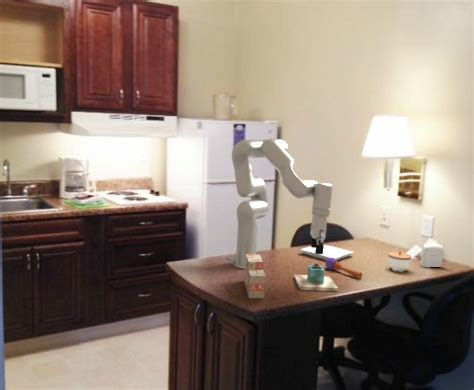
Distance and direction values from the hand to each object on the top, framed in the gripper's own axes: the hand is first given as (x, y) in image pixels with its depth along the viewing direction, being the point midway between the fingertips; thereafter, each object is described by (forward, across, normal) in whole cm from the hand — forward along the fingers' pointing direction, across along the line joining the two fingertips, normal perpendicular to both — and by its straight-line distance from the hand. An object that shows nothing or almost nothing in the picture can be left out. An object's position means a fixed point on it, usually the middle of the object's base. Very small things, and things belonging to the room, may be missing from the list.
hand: (316, 250), depth 215 cm
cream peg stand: (+15, +1, +1) cm, 15 cm away
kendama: (+15, -18, +18) cm, 29 cm away
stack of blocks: (+16, +10, -27) cm, 33 cm away
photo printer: (+14, -35, +68) cm, 78 cm away
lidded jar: (+15, -27, +48) cm, 57 cm away
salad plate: (+16, -48, +17) cm, 54 cm away
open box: (+14, 0, +1) cm, 14 cm away
